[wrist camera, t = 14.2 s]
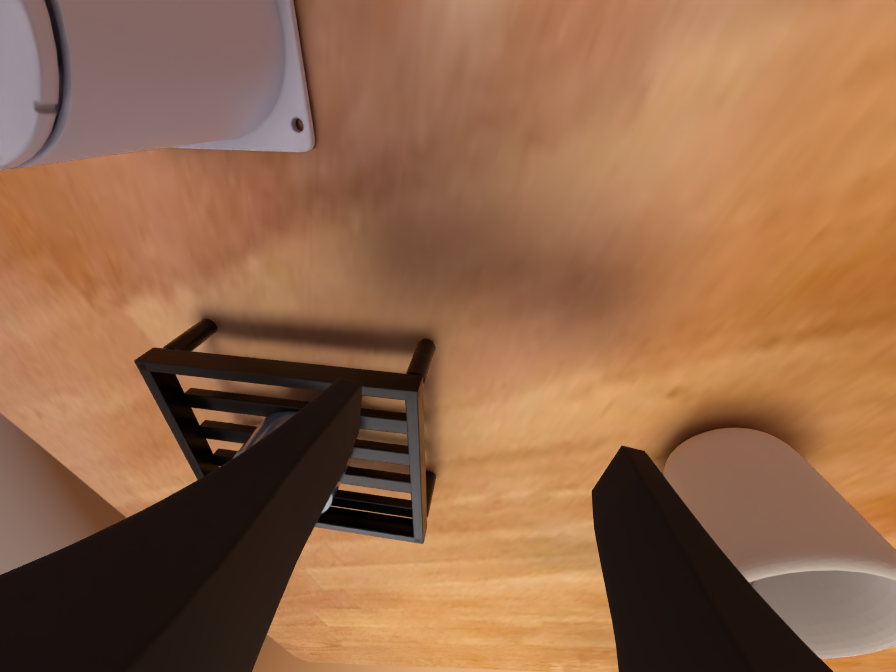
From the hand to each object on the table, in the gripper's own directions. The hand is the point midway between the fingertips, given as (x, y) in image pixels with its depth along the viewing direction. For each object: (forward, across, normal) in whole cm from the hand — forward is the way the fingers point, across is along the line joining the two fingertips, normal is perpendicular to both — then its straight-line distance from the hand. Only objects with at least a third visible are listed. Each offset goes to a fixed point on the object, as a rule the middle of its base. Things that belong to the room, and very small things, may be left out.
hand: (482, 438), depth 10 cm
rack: (+9, +8, +11) cm, 16 cm away
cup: (+10, -16, +7) cm, 20 cm away
